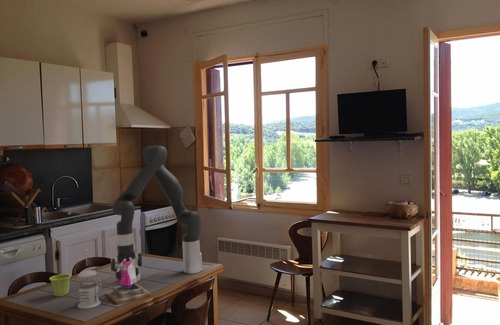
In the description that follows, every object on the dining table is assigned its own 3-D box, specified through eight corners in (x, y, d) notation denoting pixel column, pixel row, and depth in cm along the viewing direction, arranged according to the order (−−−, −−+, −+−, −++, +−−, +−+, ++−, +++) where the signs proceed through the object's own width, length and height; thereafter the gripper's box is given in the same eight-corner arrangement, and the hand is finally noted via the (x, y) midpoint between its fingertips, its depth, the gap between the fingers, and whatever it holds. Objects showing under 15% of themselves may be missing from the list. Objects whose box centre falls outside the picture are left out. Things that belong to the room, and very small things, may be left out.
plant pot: (51, 293, 207) (49, 275, 207) (71, 289, 211) (70, 272, 211) (50, 299, 199) (49, 281, 198) (72, 295, 203) (71, 277, 202)
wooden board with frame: (138, 286, 211) (138, 280, 211) (150, 295, 198) (150, 288, 198) (106, 294, 202) (105, 287, 202) (116, 304, 189) (116, 296, 189)
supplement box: (127, 282, 204) (125, 258, 203) (136, 283, 201) (135, 259, 201) (118, 285, 199) (117, 261, 198) (128, 287, 196) (127, 262, 195)
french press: (88, 299, 197) (85, 245, 196) (108, 301, 193) (105, 247, 192) (72, 306, 188) (68, 251, 187) (93, 309, 184) (89, 252, 182)
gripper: (137, 239, 206) (139, 272, 207) (107, 244, 198) (109, 278, 199) (143, 241, 200) (144, 276, 201) (112, 247, 192) (114, 282, 193)
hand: (127, 277), depth 200 cm, fingers closed on supplement box, 7 cm apart
